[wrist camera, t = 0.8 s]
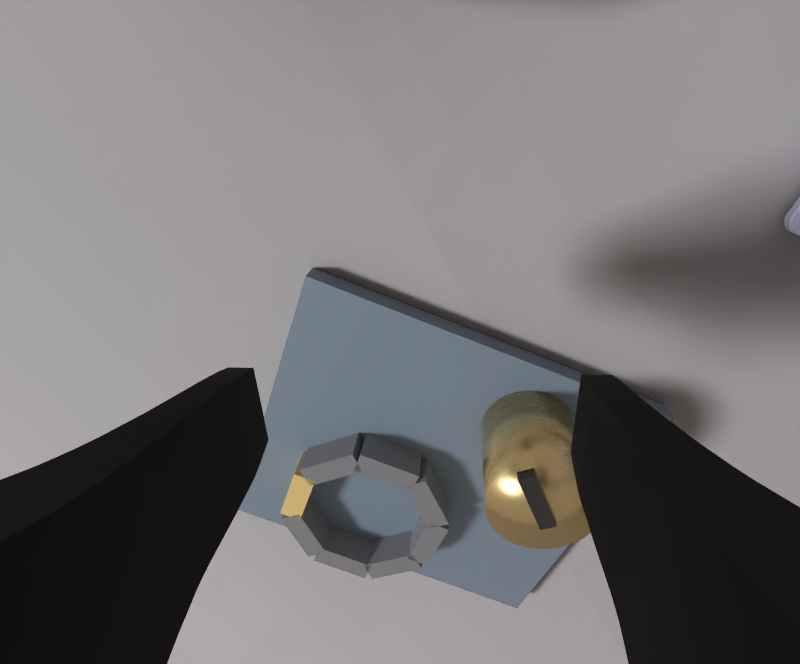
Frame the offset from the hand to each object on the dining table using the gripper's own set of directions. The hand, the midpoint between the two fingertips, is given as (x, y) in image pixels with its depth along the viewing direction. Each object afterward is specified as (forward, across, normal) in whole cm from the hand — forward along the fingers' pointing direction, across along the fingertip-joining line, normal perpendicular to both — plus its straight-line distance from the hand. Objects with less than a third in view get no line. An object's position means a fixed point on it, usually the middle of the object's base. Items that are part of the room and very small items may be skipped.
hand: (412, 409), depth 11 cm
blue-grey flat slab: (+10, 0, +10) cm, 14 cm away
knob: (+9, -4, +7) cm, 12 cm away
